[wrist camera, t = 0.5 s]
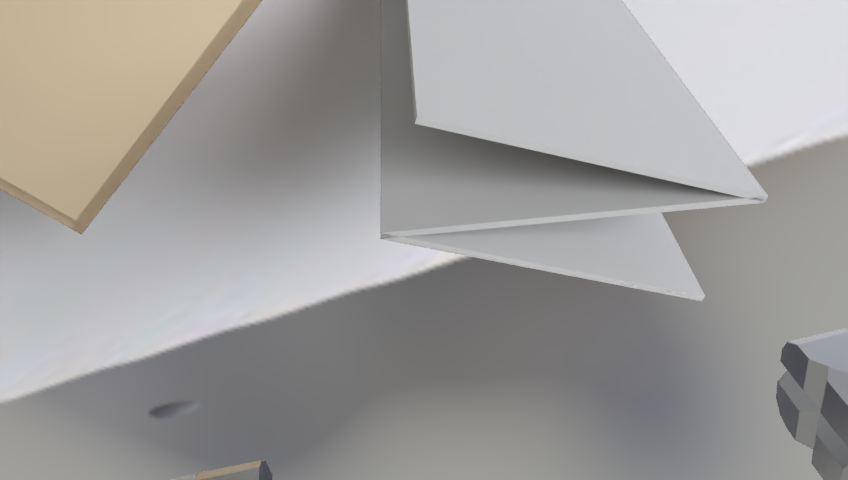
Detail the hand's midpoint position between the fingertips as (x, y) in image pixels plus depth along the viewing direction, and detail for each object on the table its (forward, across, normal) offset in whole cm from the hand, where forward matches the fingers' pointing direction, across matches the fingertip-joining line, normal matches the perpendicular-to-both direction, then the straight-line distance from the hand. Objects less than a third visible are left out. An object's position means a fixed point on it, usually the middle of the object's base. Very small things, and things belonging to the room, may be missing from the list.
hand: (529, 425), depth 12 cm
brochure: (+46, -8, +7) cm, 48 cm away
